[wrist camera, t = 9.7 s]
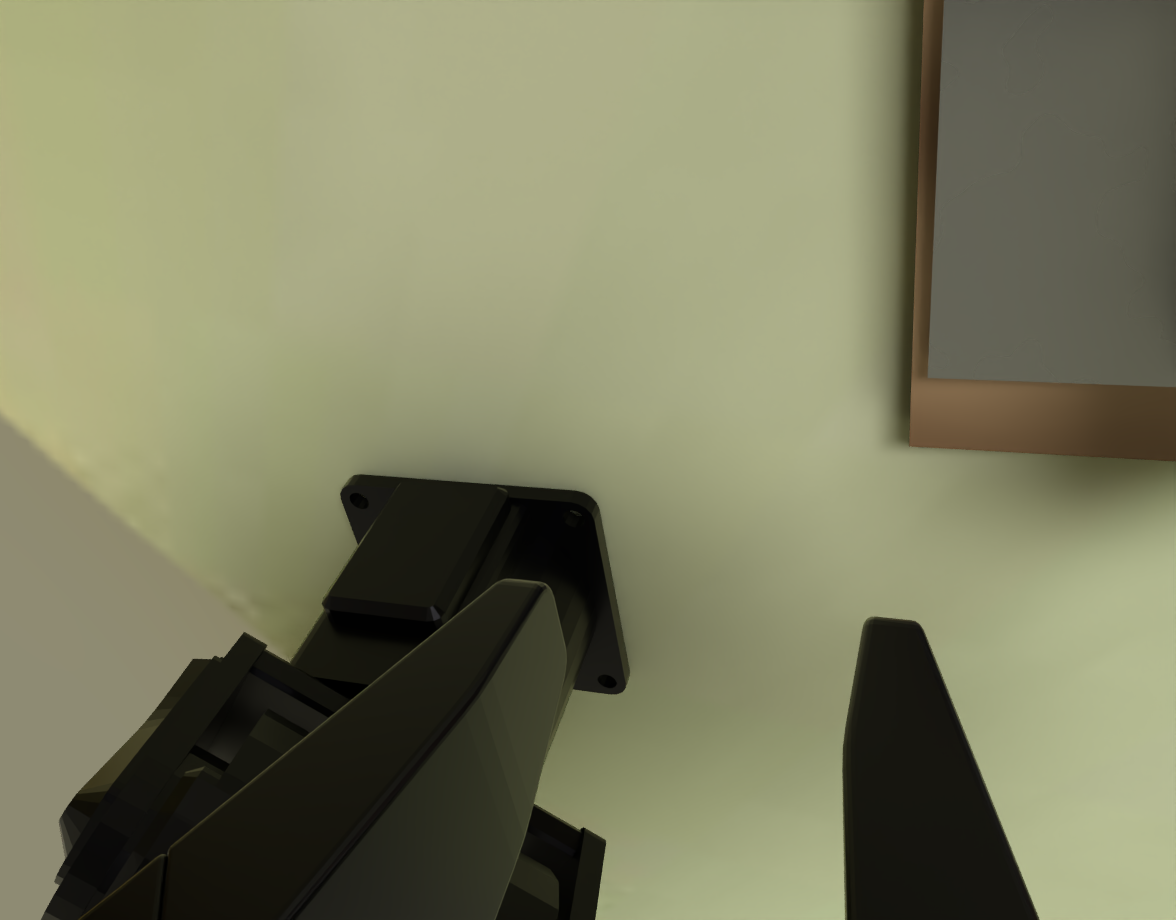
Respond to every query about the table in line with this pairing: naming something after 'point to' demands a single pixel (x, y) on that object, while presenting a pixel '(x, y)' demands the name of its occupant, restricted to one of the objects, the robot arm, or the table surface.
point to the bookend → (1056, 193)
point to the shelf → (1013, 408)
